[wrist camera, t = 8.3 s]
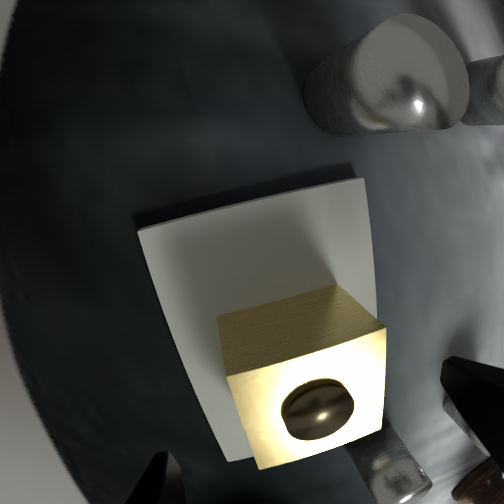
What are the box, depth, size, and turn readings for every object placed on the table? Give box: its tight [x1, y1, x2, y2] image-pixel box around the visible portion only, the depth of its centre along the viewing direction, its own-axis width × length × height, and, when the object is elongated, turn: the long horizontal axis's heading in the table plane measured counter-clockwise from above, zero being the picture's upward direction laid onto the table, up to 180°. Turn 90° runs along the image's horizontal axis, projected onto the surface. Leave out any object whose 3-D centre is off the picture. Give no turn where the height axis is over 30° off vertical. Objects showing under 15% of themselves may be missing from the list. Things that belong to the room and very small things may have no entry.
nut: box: [216, 284, 386, 470], centre depth 10 cm, size 5×5×4 cm
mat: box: [138, 177, 377, 462], centre depth 13 cm, size 8×12×1 cm, turn 12°
